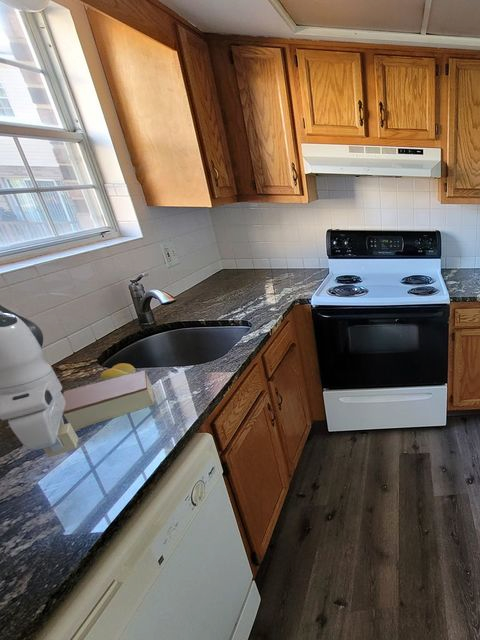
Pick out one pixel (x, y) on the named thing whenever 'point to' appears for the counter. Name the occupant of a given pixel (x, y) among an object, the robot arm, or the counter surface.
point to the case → (111, 408)
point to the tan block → (64, 440)
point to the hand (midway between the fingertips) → (60, 442)
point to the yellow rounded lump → (117, 371)
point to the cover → (104, 391)
